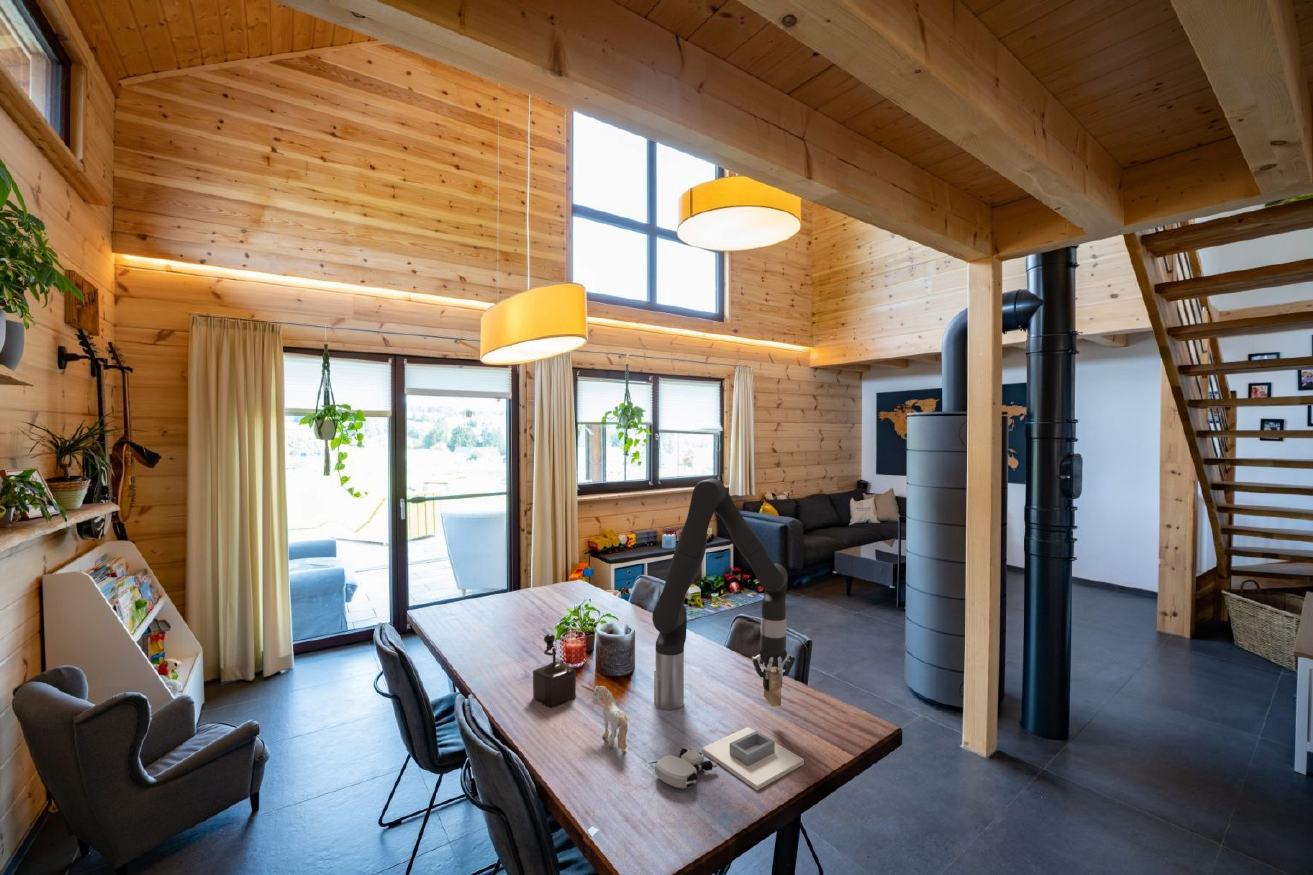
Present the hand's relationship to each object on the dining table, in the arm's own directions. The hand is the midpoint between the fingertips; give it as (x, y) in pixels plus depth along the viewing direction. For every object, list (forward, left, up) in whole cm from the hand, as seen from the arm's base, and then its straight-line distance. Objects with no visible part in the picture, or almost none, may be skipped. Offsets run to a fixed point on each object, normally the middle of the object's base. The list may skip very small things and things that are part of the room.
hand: (772, 689), depth 162 cm
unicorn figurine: (-51, -1, -11) cm, 52 cm away
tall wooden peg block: (0, 0, -4) cm, 4 cm away
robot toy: (-32, -19, -11) cm, 39 cm away
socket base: (-12, -15, -11) cm, 22 cm away
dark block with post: (-66, +30, -11) cm, 73 cm away
